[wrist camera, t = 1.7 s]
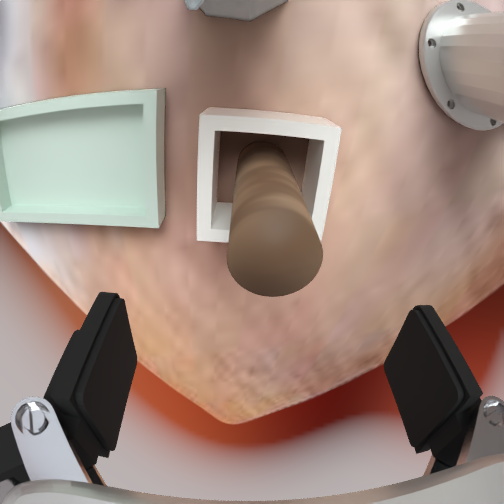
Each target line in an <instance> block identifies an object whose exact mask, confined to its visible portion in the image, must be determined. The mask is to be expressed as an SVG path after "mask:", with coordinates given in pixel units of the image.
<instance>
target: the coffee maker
mask: <svg viewBox="0 0 504 504" xmlns="http://www.w3.org/2000/svg"><path fill="white" fill-rule="evenodd" d="M184 1H185V3H186V6H187V8H188V10H197V9H198V8H200V9H201V10H202V11H203V12H204V14H205V15H206V16H214V17H223V18H231V19H238V20H245V21H252V20H254V19H255V18H257V17H259V16H261V15H262V14H264V13H266V12H268V11H270V10H272V9H273V8H275V7H277V6H279V5H281V4H283V3H285V2H287V1H288V0H184Z"/></svg>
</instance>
